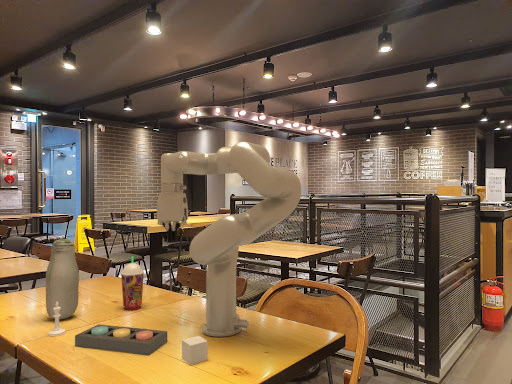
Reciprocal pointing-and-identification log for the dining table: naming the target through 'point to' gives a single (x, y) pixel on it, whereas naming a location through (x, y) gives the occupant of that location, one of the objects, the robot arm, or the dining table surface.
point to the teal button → (99, 330)
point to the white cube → (194, 350)
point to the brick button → (144, 335)
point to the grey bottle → (62, 279)
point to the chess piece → (56, 323)
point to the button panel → (121, 340)
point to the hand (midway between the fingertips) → (172, 241)
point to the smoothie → (132, 286)
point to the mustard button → (121, 333)
